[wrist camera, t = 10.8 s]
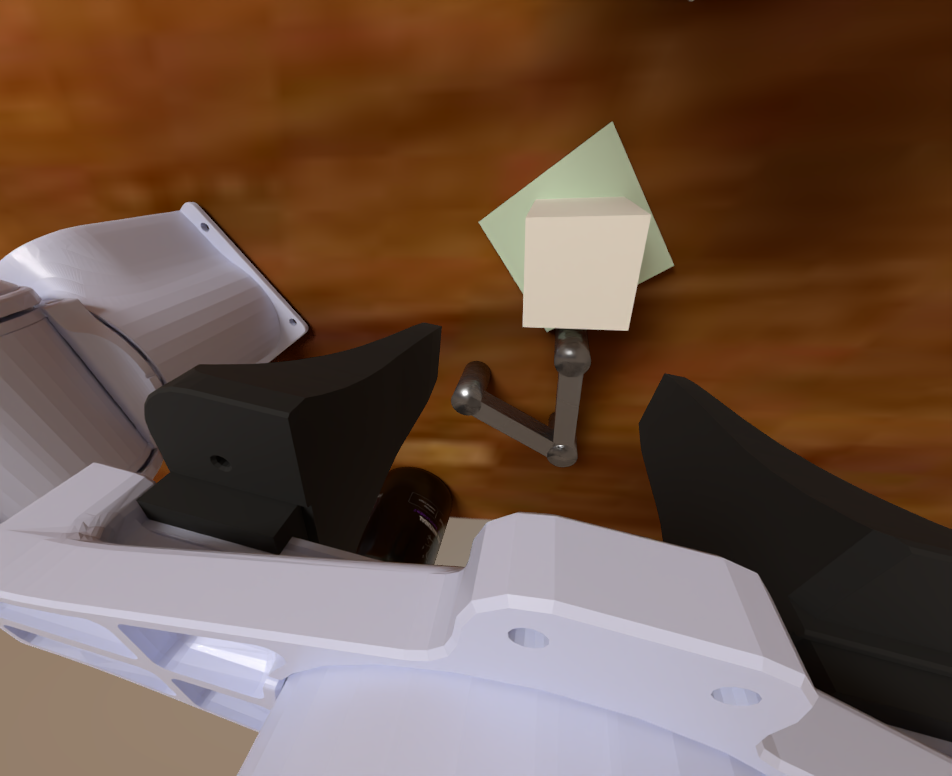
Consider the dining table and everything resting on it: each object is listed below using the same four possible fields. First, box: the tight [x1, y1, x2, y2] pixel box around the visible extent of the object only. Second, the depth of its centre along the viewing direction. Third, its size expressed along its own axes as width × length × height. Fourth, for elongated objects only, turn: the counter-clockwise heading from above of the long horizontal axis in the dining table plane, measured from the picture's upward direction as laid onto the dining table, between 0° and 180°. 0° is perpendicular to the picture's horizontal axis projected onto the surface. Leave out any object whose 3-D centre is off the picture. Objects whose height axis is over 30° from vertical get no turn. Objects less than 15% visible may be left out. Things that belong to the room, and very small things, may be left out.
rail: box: [451, 328, 591, 467], centre depth 22 cm, size 8×8×4 cm
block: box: [523, 196, 651, 331], centre depth 15 cm, size 4×4×6 cm
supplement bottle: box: [355, 467, 452, 565], centre depth 27 cm, size 7×7×12 cm
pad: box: [479, 121, 674, 332], centre depth 18 cm, size 7×7×1 cm
